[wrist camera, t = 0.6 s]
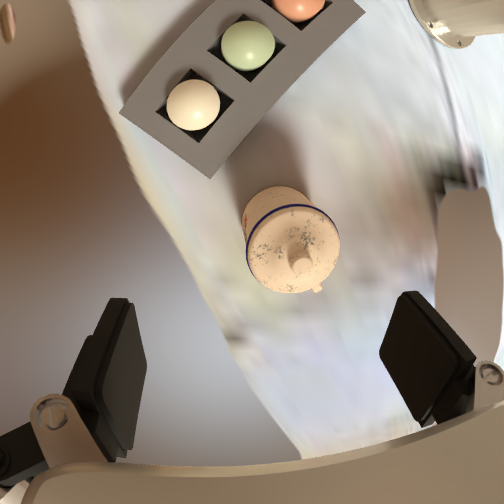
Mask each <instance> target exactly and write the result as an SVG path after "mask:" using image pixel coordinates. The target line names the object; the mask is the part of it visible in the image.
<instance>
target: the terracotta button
mask: <svg viewBox="0 0 504 504" xmlns="http://www.w3.org/2000/svg"><path fill="white" fill-rule="evenodd" d="M324 3H325V0H271V6H272V9H274V10H275V11H276V12H278V13H279V14H280V15H282V16H283V17H284V18H286V19H287V20H288V21H289V22H292V23H302V22H306V21H308V20H310V19H311V18H312V17H313V16H314V15H315V14H316V13H317V12H319V11H320V10H321V9H322V7H323V5H324Z"/></svg>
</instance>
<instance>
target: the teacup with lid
mask: <svg viewBox="0 0 504 504" xmlns="http://www.w3.org/2000/svg"><path fill="white" fill-rule="evenodd" d="M242 228H243V233H244V238H245V242H246V260H247V264H248V266H249V269H250V271H251V273H252V274H253V276H254V277H255V278H256V279H257V280H258V281H259V282H260V283H261V284H263V285H264V286H266V287H267V288H269V289H271V290H274V291H277V292H282V293H297V292H302V291H305V290H308V289H310V288H311V289H312V291H313V292H315V293H316V292H318V291H320V290H321V289H322V287H323V286H322V284H321V282H322V281H323V280H324V279H325V278H326V277H327V276H328V275H329V274H330V272H331V271H332V269H333V268H334V266H335V264H336V262H337V259H338V255H339V250H340V241H339V234H338V231H337V228H336V226H335V224H334V223H333V221H332V220H331V218H330V217H329V216H328V215H327V214H325V213H324V212H323V211H321V210H320V209H318V208H316V207H315V206H314V205H313V204H312V203H311V202H310V201H309V200H308V199H307V198H306V197H305V196H304V195H303V194H302V193H300V192H299V191H297V190H295V189H293V188H290V187H285V186H276V187H270V188H267V189H265V190H263V191H261V192H259V193H258V194H256V195H255V196H254V197H253V198H252V199H251V200H250V201H249V203H248V204H247V206H246V208H245V210H244V213H243V218H242Z"/></svg>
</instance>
